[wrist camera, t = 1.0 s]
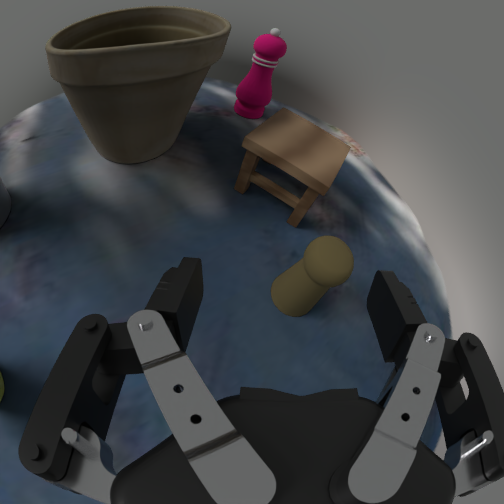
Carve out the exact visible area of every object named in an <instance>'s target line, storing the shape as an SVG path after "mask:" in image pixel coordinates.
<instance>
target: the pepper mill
mask: <svg viewBox="0 0 504 504" xmlns="http://www.w3.org/2000/svg"><path fill="white" fill-rule="evenodd" d="M279 35H280V30H279V29H277V28H274V29H272V30H271V34H264V35H261V36H259V37H258V38H257V39H256V41H255V42H254V49H255V51H256V53H254V54H253V58H252V61H253V65H252V68H251V70H250V72H249V73H248V75H247V76H246V77H245V78H244V79H243V80H242V81H241V83H240V84H239V86H238V87H237V90H236V96H237V100H236V102H235V106H234V110H235V112H236V113H237V114H239V115H240V116H242V117H245V118H249V119H258V118H260V117H262V115H263V112H264V110H265V108H264V106H266V105H268V104H269V102H270V100H271V96H272V87H271V76H272V72H273V70H274V68H275V67H277V66H278V63H279V60H278V59H279V58H281V57H282V56H284V55H285V53H286V49H287V46H286V43H285V41H284V40H283V39H282V38H280V37H278V36H279Z"/></svg>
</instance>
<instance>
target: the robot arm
mask: <svg viewBox="0 0 504 504" xmlns="http://www.w3.org/2000/svg"><path fill="white" fill-rule="evenodd" d="M10 209H11V197H10V195H9V193H8V191H7V189H6V187H5V186H4V184H3V182H2V180H1V178H0V228H1V226H2V225H3V224H4V222H5V221H6V219H7V217H8V215H9V213H10ZM202 298H203V276H202V263H201V259H200V258H188V257H184V258H183V259H182V261H181V263H180V265H179V267H178V268H175V267H172V268H170V269H169V270H168V271H167V272H165V273H164V274H163V276H162V278H161V280H160V283H158V285H157V287H156V289H155V291H154V292H153V294H152V296H151V298H150V300H149V302H148V304H147V306H146V307H145V309H144V310H142V311H139V312H137V313H135V314H133V315H132V316H131V317H130V318H129V320H128V322H125V323H114V324H108V322H107V320H106V318H105V317H104V316H102V315H99V314H91V315H88V316H85V317H84V318H82V319H81V320H80V321H79V322H78V323H77V325H76V327H75V328H74V330H73V332H72V334H71V335H70V337H69V339H68V341H67V342H66V344H65V346H64V348H63V350H62V351H61V353H60V355H59V357H58V359H57V361H56V363H55V365H54V366H53V368H52V370H51V372H50V374H49V376H48V378H47V380H46V383H45V385H44V387H43V389H42V391H41V393H40V395H39V397H38V400H37V402H36V404H35V406H34V409H33V411H32V413H31V416H30V418H29V421H28V423H27V426H26V428H25V431H24V433H23V436H22V439H21V442H20V445H19V458H20V461H21V463H22V464H23V466H24V467H25V468H26V469H27V470H28V471H30V472H32V473H34V474H35V475H37V476H39V477H41V478H42V479H43V480H45V481H47V482H49V483H51V484H53V485H55V486H57V487H60V488H62V489H64V490H69V491H71V492H73V493H76V494H83V495H86V496H88V497H90V498H93V499H95V500H98V501H101V502H103V503H106V504H452V502H453V499H454V497H456V496H460V497H461V496H466V495H468V494H471V493H473V492H475V491H477V490H479V489H481V488H483V487H485V486H487V485H489V484H491V483H493V482H495V481H497V480H499V479H500V478H502V477H504V392H503V389H502V387H501V385H500V382H499V379H498V377H497V375H496V372H495V370H494V368H493V365H492V363H491V361H490V359H489V357H488V355H487V352H486V350H485V348H484V346H483V344H482V342H481V341H480V340H479V338H478V337H476V336H475V335H474V334H471V333H463V334H462V335H461V336H460V338H459V339H458V341H456V340H451V339H447V338H445V336H444V334H443V332H442V331H441V330H440V329H439V328H438V327H436V326H435V325H432V324H429V323H427V321H426V319H425V317H424V315H423V314H422V312H421V310H420V308H419V306H418V304H416V303H417V302H416V301H415V299H414V298H413V295H412V293H411V292H410V290H409V288H407V287H406V286H405V285H404V284H403V283H402V282H399V280H398V279H397V277H396V275H395V273H394V272H393V271H380V270H378V271H377V272H376V274H375V277H374V280H373V283H372V286H371V289H370V292H369V295H368V298H367V309H368V312H369V315H370V318H371V321H372V324H373V327H374V330H375V333H376V336H377V339H378V342H379V345H380V348H381V351H382V354H383V358H384V361H385V363H387V362H395V367H394V368H393V370H392V372H391V374H390V376H389V378H388V380H387V382H386V384H385V386H384V388H383V390H382V392H381V393H380V395H379V397H378V399H377V400H376V402H374V401H372V400H369V399H367V398H363V397H359V396H358V392H357V388H354V389H332V390H327V391H323V392H319V393H314V394H310V395H306V396H297V395H293V394H289V393H285V392H281V391H277V390H273V389H264V388H249V387H241V390H240V395H234V396H230V397H226V398H223V399H220V400H218V401H215V399H214V398H213V396H212V395H211V393H210V392H209V390H208V388H207V387H206V385H205V384H204V382H203V381H202V379H201V377H200V376H199V374H198V373H197V371H196V369H195V368H194V366H193V364H192V363H191V361H190V359H189V358H188V356H187V354H186V353H185V352H186V349H187V345H188V342H189V339H190V336H191V333H192V329H193V326H194V323H195V320H196V317H197V314H198V311H199V307H200V304H201V301H202ZM139 373H144V374H145V376H146V378H147V381H148V383H149V385H150V388H151V390H152V392H153V394H154V396H155V399H156V401H157V403H158V405H159V407H160V409H161V411H162V413H163V415H164V417H165V419H166V421H167V423H168V425H169V427H170V429H171V431H172V433H173V434H172V435H170V436H169V437H168V438H166V439H165V440H164V441H162V442H161V443H160V444H158V445H157V446H155V447H154V448H153V449H151V450H150V451H148V452H147V453H146V454H144V455H143V456H141V457H140V458H138V459H137V460H135V461H134V462H132V463H131V464H129V465H128V466H126V467H125V468H123V469H122V470H121V471H120V472H119V473H118V474H116V473H115V471H114V468H113V453H112V450H111V448H110V447H109V445H108V444H107V443H106V442H105V439H106V435H107V432H108V428H109V425H110V422H111V419H112V415H113V412H114V409H115V406H116V403H117V400H118V397H119V394H120V391H121V388H122V385H123V382H124V379H125V376H126V374H139ZM463 377H465V380H466V382H467V385H468V388H469V395H468V398H467V400H466V399H465V396H464V393H463V390H462V387H461V384H460V380H461V379H462V378H463ZM434 398H435V399H436V403H437V407H438V411H439V415H440V419H441V423H442V428H443V432H444V437H445V442H446V447H447V451H446V453H445V458H444V460H442V459H441V458H440V457H438V456H437V455H436V454H435V453H434V452H433V451H431V450H430V449H429V448H428V447H427V446H426V445H425V444H423V443H422V442H421V441H420V440H419V439H420V436H421V434H422V431H423V429H424V426H425V424H426V421H427V418H428V416H429V413H430V410H431V407H432V404H433V401H434Z"/></svg>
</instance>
